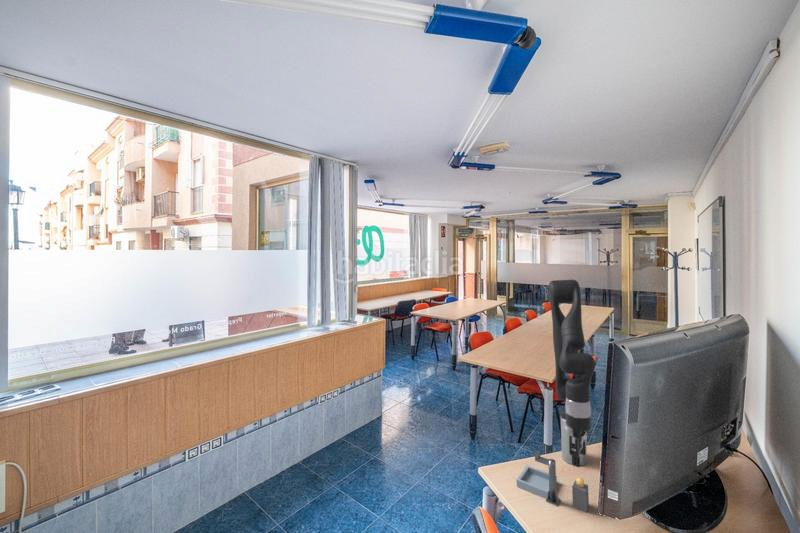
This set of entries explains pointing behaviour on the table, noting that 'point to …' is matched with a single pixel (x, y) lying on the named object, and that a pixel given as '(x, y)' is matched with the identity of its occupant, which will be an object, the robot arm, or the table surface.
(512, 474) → the table surface
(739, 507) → the table surface
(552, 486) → the hook post
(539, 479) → the bay
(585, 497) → the plug block
